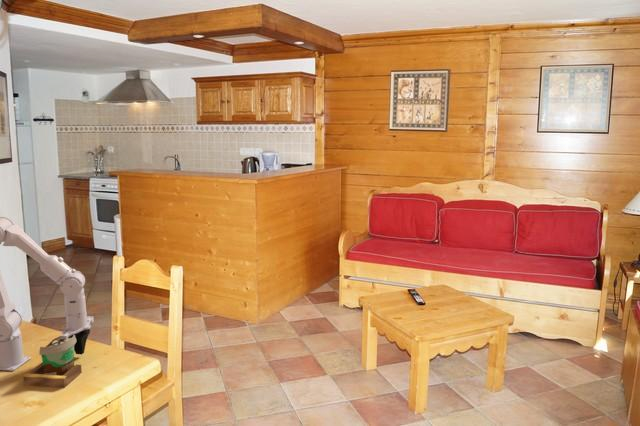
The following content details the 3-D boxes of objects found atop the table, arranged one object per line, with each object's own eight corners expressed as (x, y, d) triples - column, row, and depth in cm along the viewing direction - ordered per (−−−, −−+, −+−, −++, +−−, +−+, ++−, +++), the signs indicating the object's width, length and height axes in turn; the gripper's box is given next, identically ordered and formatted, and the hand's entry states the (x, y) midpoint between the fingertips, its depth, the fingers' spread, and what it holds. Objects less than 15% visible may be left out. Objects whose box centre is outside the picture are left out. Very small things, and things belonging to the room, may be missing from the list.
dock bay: (24, 384, 140) (22, 375, 139) (43, 370, 148) (42, 361, 147) (64, 387, 138) (63, 378, 138) (81, 372, 146) (80, 363, 146)
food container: (63, 382, 141) (59, 348, 139) (42, 380, 142) (38, 347, 140) (87, 360, 153) (84, 330, 151) (68, 359, 154) (65, 329, 152)
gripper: (74, 322, 145) (78, 365, 148) (101, 303, 159) (104, 343, 162) (51, 321, 146) (56, 364, 149) (80, 302, 160) (83, 342, 163)
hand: (79, 353), depth 156 cm, fingers closed
